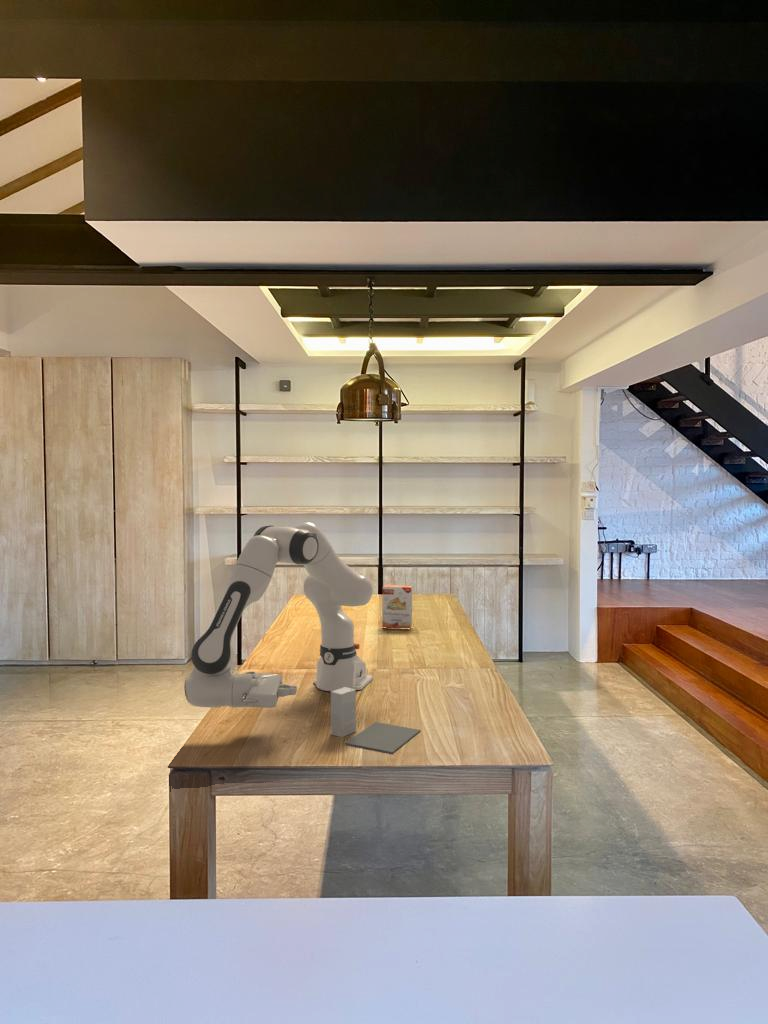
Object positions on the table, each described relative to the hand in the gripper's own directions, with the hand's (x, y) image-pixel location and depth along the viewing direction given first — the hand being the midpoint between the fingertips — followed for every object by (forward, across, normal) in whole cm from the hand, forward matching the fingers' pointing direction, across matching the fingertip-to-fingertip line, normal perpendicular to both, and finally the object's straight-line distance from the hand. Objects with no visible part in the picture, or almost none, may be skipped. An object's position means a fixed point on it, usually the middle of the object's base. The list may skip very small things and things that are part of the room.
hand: (296, 690), depth 186 cm
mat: (+24, -4, +12) cm, 27 cm away
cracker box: (+40, +141, +11) cm, 147 cm away
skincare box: (+13, 0, +12) cm, 18 cm away
